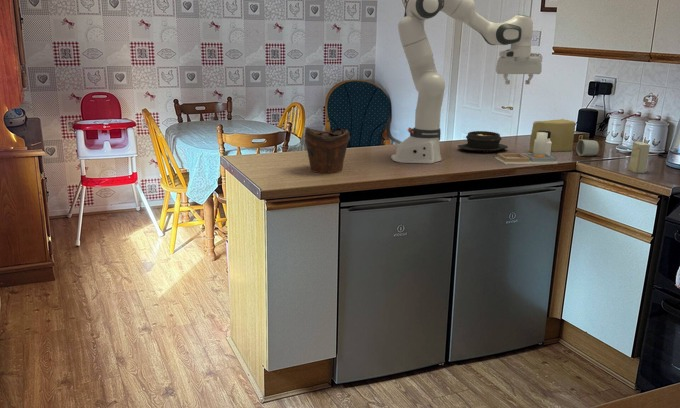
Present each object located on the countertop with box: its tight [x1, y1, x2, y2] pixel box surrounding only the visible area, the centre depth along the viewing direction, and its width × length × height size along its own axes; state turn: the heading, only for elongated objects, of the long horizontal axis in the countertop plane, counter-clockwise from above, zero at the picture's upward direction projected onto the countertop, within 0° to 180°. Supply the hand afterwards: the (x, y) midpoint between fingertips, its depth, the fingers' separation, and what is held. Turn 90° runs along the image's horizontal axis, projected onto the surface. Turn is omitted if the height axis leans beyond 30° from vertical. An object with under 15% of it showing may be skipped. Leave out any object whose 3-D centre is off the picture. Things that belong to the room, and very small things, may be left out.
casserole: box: [457, 130, 509, 153], centre depth 299 cm, size 25×19×8 cm
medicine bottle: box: [532, 130, 552, 156], centre depth 287 cm, size 7×7×12 cm
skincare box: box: [628, 141, 651, 174], centre depth 258 cm, size 6×4×12 cm
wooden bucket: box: [304, 127, 351, 174], centre depth 253 cm, size 18×20×18 cm
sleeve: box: [534, 132, 548, 158], centre depth 275 cm, size 5×5×12 cm
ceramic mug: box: [576, 139, 600, 157], centre depth 291 cm, size 11×8×8 cm
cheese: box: [528, 118, 576, 153], centre depth 299 cm, size 22×10×15 cm, turn 112°
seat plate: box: [494, 152, 559, 165], centre depth 277 cm, size 24×13×2 cm, turn 95°
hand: (517, 84), depth 278 cm, fingers open, 8 cm apart
